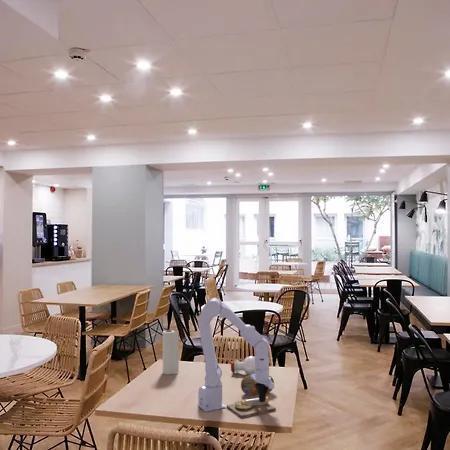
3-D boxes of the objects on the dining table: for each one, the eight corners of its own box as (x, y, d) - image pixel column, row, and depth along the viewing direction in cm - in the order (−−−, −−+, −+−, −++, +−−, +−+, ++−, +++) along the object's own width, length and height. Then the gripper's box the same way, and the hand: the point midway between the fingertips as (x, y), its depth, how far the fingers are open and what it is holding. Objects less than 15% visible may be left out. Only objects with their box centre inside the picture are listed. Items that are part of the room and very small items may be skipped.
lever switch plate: (241, 418, 181) (241, 415, 181) (226, 407, 192) (226, 405, 192) (275, 410, 189) (275, 407, 189) (259, 400, 200) (259, 398, 200)
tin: (242, 396, 205) (242, 377, 205) (240, 394, 208) (240, 375, 208) (274, 393, 209) (274, 374, 209) (271, 390, 212) (271, 372, 212)
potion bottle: (262, 379, 232) (233, 380, 236) (263, 363, 240) (235, 364, 244) (258, 367, 227) (228, 368, 231) (260, 351, 235) (231, 352, 239)
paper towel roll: (160, 374, 236) (160, 331, 236) (165, 370, 242) (165, 329, 242) (173, 375, 234) (173, 332, 234) (178, 372, 239) (178, 330, 240)
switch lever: (238, 411, 185) (238, 404, 185) (232, 404, 192) (232, 398, 192) (271, 406, 191) (271, 400, 191) (264, 400, 197) (264, 394, 197)
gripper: (280, 371, 187) (280, 405, 187) (260, 362, 200) (260, 394, 200) (265, 374, 184) (266, 408, 184) (246, 364, 197) (246, 397, 197)
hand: (262, 401), depth 192 cm, fingers closed, pressing on switch lever
